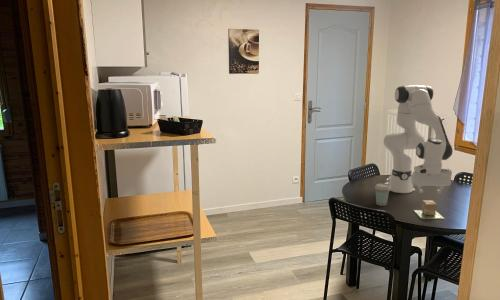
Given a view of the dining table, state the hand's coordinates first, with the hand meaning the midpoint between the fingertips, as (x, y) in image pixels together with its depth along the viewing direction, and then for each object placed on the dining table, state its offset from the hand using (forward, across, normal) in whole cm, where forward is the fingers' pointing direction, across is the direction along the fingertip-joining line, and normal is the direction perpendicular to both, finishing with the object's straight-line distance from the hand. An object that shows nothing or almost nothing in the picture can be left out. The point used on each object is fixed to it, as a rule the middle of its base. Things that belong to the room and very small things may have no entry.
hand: (429, 193), depth 206 cm
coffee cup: (+13, +21, -16) cm, 30 cm away
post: (+13, 0, +1) cm, 13 cm away
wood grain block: (+12, 0, +1) cm, 12 cm away
